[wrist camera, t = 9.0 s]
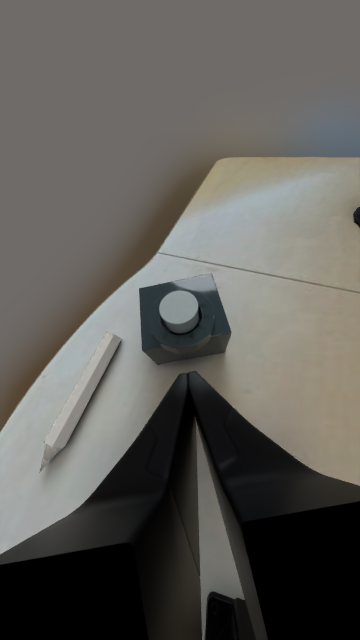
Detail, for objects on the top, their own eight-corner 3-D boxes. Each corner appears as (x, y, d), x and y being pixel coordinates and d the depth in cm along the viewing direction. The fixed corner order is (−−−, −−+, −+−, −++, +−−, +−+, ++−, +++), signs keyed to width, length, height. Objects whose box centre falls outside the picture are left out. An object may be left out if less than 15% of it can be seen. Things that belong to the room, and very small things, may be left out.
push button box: (227, 360, 21) (238, 336, 14) (158, 374, 22) (135, 356, 15) (210, 301, 26) (212, 261, 19) (152, 313, 26) (133, 278, 19)
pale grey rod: (51, 467, 19) (117, 339, 25) (55, 479, 18) (124, 340, 24) (23, 468, 17) (102, 331, 24) (26, 481, 16) (109, 331, 22)
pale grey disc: (202, 329, 15) (202, 319, 14) (166, 337, 16) (161, 327, 14) (195, 299, 17) (193, 286, 15) (162, 306, 17) (157, 294, 15)
